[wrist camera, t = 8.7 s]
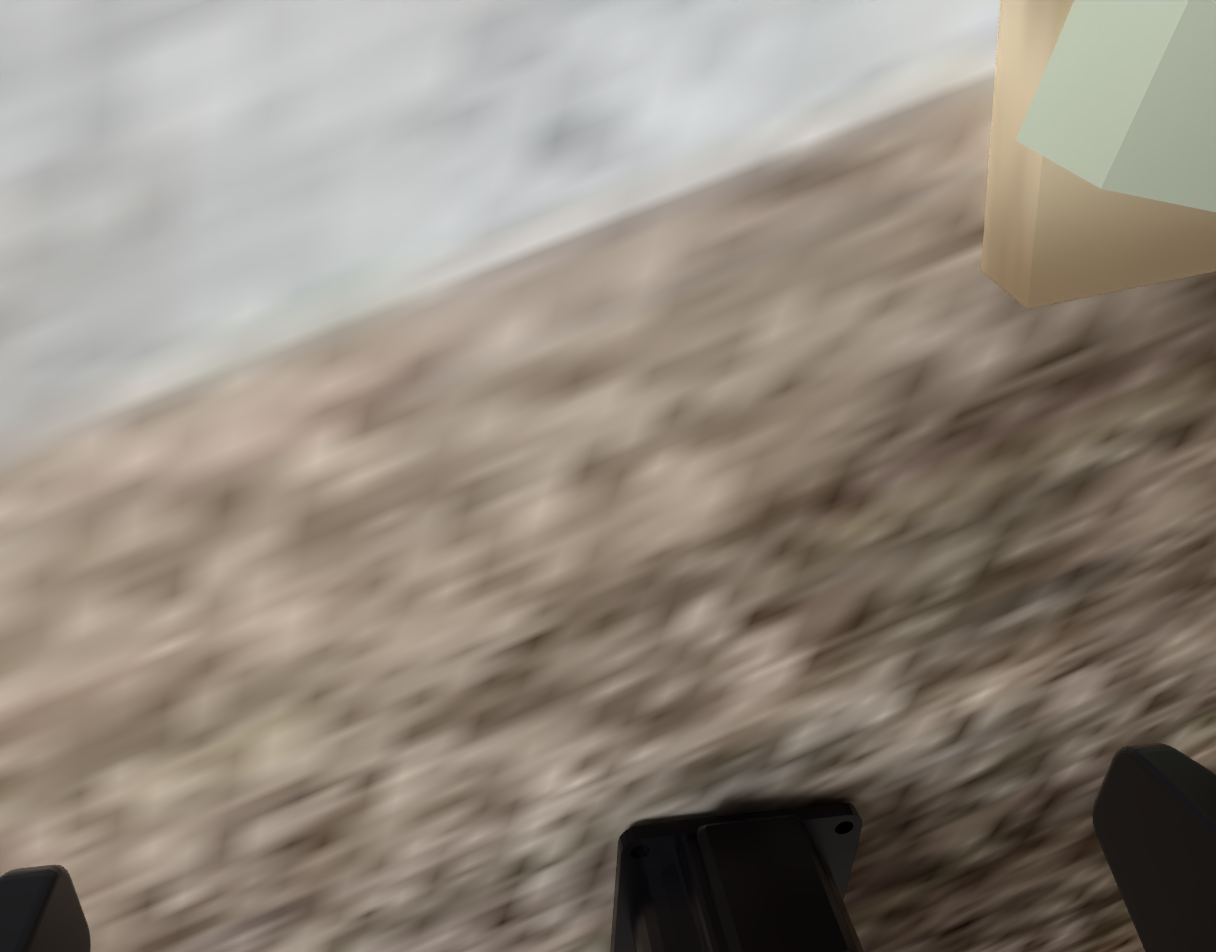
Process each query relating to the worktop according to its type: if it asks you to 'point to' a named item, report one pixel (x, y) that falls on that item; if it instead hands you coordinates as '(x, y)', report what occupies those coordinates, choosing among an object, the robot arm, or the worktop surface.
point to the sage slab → (1132, 99)
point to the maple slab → (1069, 196)
